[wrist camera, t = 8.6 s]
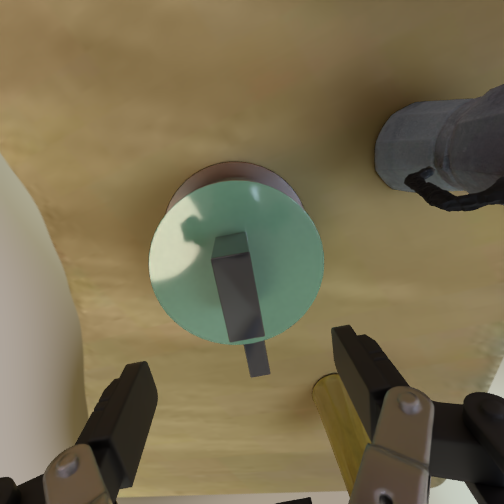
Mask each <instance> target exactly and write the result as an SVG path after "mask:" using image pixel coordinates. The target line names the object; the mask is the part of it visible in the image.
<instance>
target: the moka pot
mask: <svg viewBox="0 0 504 504" xmlns="http://www.w3.org/2000/svg"><path fill="white" fill-rule="evenodd" d="M375 169H376V172H377V173H378V174H379V176H380V177H381V178H382V180H383V181H384V182H385V183H386V184H387V185H388V186H389V187H391V188H392V189H395V190H401V191H408V192H415V193H418V194H419V195H420V196H422V197H423V198H424V200H425V201H426V202H427V203H429V205H431V206H435V207H438V208H440V209H443V210H446V211H449V212H450V211H461V210H462V211H472V210H476V209H478V208H480V207H483V206H486V205H494V204H501V205H504V84H503V85H500V86H498V87H495V88H493V89H490V90H489V91H488V92H487V93H486V94H485V95H483V96H482V97H478V98H475V99H456V100H442V101H424V102H415V103H412V104H410V105H408V106H406V107H404V108H403V109H401V110H399V111H397V112H395V113H394V114H393V115H391V117H390V118H389V119H388V120H387V122H386V123H385V124H384V126H383V128H382V130H381V132H380V134H379V136H378V138H377V141H376V145H375ZM463 190H464V191H467V192H468V193H469V194H468V195H463V196H454V195H452V194H451V193H449V192H448V191H463Z"/></svg>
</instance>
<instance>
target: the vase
mask: <svg viewBox="0 0 504 504" xmlns="http://www.w3.org/2000/svg"><path fill="white" fill-rule="evenodd" d="M312 398H313V401H314V402H315V404H316V407H317V409H318V412H319V414H320V417H321V420H322V422H323V425H324V428H325V430H326V433H327V436H328V438H329V441H330V444H331V447H332V449H333V452H334V455H335V458H336V460H337V463H338V466H339V468H340V471H341V474H342V476H343V479H344V482H345V485H346V488H347V491H348V493H349V496H350V497H351V493H352V490H353V487H354V483H355V480H356V476H357V473H358V470H359V466H360V463H361V460H362V456H363V453H364V450H365V447H366V445H367V443H370V444H371V441H370V439H369V437H368V435H367V433H366V431H365V428H364V426H363V424H362V422H361V420H360V418H359V416H358V414H357V412H356V409H355V407H354V405H353V403H352V401H351V399H350V397H349V395H348V393H347V391H346V388H345V386H344V384H343V382H342V380H341V378H340V376H339V374H332V375H328V376H326V377H324V378H322V379H320V380H319V381H318V382H317V383H316V385H315V386H314V388H313V392H312Z"/></svg>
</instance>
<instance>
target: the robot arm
mask: <svg viewBox="0 0 504 504" xmlns="http://www.w3.org/2000/svg"><path fill="white" fill-rule="evenodd" d="M331 333H332V344H333V354H334V361H335V365H336V369H337V371H338V374H339V376H340V378H341V380H342V382H343V384H344V386H345V388H346V391H347V393H348V395H349V397H350V399H351V401H352V403H353V405H354V407H355V409H356V412H357V414H358V416H359V418H360V420H361V422H362V424H363V426H364V428H365V431H366V433H367V435H368V437H369V439H370V441H371V444H370V443H367V445H366V447H365V450H364V453H363V456H362V460H361V463H360V466H359V470H358V473H357V476H356V480H355V483H354V487H353V490H352V493H351V497H350V500H349V503H348V504H429V494H430V483H431V476H434V477H440V478H446V479H452V480H458V481H464V482H465V483H466V485H467V487H468V488H469V490H470V491H471V493H472V494H473V496H474V498H475V499H476V500H477V502H478V504H504V398H502V397H499V396H497V395H494V394H490V393H485V392H475V393H471V394H469V395H467V396H466V397H465V399H464V403H463V405H462V404H451V403H441V402H436V401H432V400H430V398H429V397H428V396H427V395H426V394H424V393H423V392H421V391H420V390H417V389H415V388H412V387H410V386H409V385H408V383H407V382H406V381H405V379H404V378H403V377H402V375H401V374H400V373H399V371H398V370H397V369H396V368H395V366H394V365H393V364H392V362H391V361H390V360H389V359H388V357H387V356H386V354H385V353H384V352H383V351H382V349H381V348H380V346H379V345H378V344H377V342H376V341H375V340H373V339H372V338H370V337H368V336H367V335H365V334H364V335H359V336H357V335H356V333H355V332H354V330H353V329H352V327H351V326H350V325H344V326H339V327H333V328H332V329H331ZM157 401H158V394H157V389H156V386H155V383H154V380H153V377H152V374H151V371H150V368H149V366H148V363H147V362H146V361H143V362H137V363H132V364H127V365H126V366H125V368H124V370H123V372H122V374H121V376H120V378H118V379H114V380H113V381H112V383H111V384H110V385H109V386H108V387H107V388H106V389H105V390H104V392H103V394H102V396H101V397H100V399H99V403H97V405H96V407H95V408H94V412H92V414H91V416H90V418H89V419H88V421H87V423H86V425H85V427H84V429H83V431H82V432H81V435H80V436H79V438H78V440H77V442H76V443H75V445H74V446H72V447H70V448H68V449H66V450H64V451H63V452H62V453H60V454H59V455H58V456H57V457H56V458H55V459H54V460H53V461H52V462H51V463H50V465H49V466H48V467H47V469H46V471H45V473H44V474H42V475H40V476H38V477H36V478H34V479H31V480H29V481H27V482H25V483H23V484H21V485H18V486H16V484H15V482H14V481H13V479H11V478H9V477H3V478H0V504H118V503H117V501H116V498H117V495H118V492H119V489H123V488H128V487H132V485H133V482H134V479H135V475H136V472H137V469H138V466H139V462H140V459H141V456H142V452H143V449H144V446H145V442H146V439H147V436H148V433H149V429H150V426H151V423H152V419H153V416H154V413H155V409H156V406H157ZM276 504H312V501H311V498H310V497H308V498H303V499H297V500H292V501H286V502H281V503H276Z"/></svg>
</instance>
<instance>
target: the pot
mask: <svg viewBox="0 0 504 504" xmlns="http://www.w3.org/2000/svg"><path fill="white" fill-rule="evenodd" d="M148 265H149V276H150V280H151V284H152V288H153V290H154V293H155V295H156V297H157V299H158V301H159V303H160V305H161V306H162V307H163V309H164V310H165V312H166V313H167V314H168V315H169V316H170V317H171V318H172V319H173V320H174V321H175V322H176V323H177V324H178V325H180V326H181V327H182V328H183V329H185V330H187V331H188V332H190V333H191V334H193V335H196V336H198V337H200V338H202V339H205V340H208V341H211V342H216V343H221V344H230V345H243V344H244V349H245V353H246V358H247V363H248V367H249V372H250V377H251V378H252V377H257V376H263V375H268V374H270V368H269V362H268V357H267V351H266V346H265V341H264V340H266V339H269V338H272V337H274V336H276V335H278V334H280V333H282V332H284V331H285V330H287V329H288V328H290V327H291V326H292V325H293V324H295V323H296V322H297V321H298V320H299V319H300V318H301V317H302V316H303V315H304V314H305V313H306V312H307V310H308V309H309V307H310V306H311V305H312V303H313V301H314V299H315V298H316V296H317V293H318V291H319V288H320V286H321V282H322V278H323V271H324V252H323V246H322V242H321V239H320V236H319V233H318V231H317V229H316V227H315V224H314V223H313V221H312V220H311V218H310V217H309V215H308V214H307V213H306V212H305V210H304V209H303V208H302V207H301V206H300V205H299V204H298V203H297V202H295V201H294V200H293V199H292V198H291V197H289V196H288V195H286V194H284V193H283V192H281V191H280V190H277V189H275V188H273V187H271V186H269V185H265V184H263V183H261V182H259V181H256V180H253V179H249V178H243V177H230V178H223V179H219V180H216V181H213V182H211V183H209V184H207V185H205V186H203V187H201V188H198V189H196V190H194V191H193V192H191V193H189V194H187V195H186V196H185V197H183V198H182V199H181V200H179V201H178V202H177V203H176V204H175V205H174V206H173V207H172V208H171V209H170V210H169V211H168V212H167V213H166V215H165V216H164V217H163V219H162V220H161V221H160V223H159V225H158V227H157V229H156V231H155V233H154V236H153V239H152V242H151V246H150V251H149V263H148Z"/></svg>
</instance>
